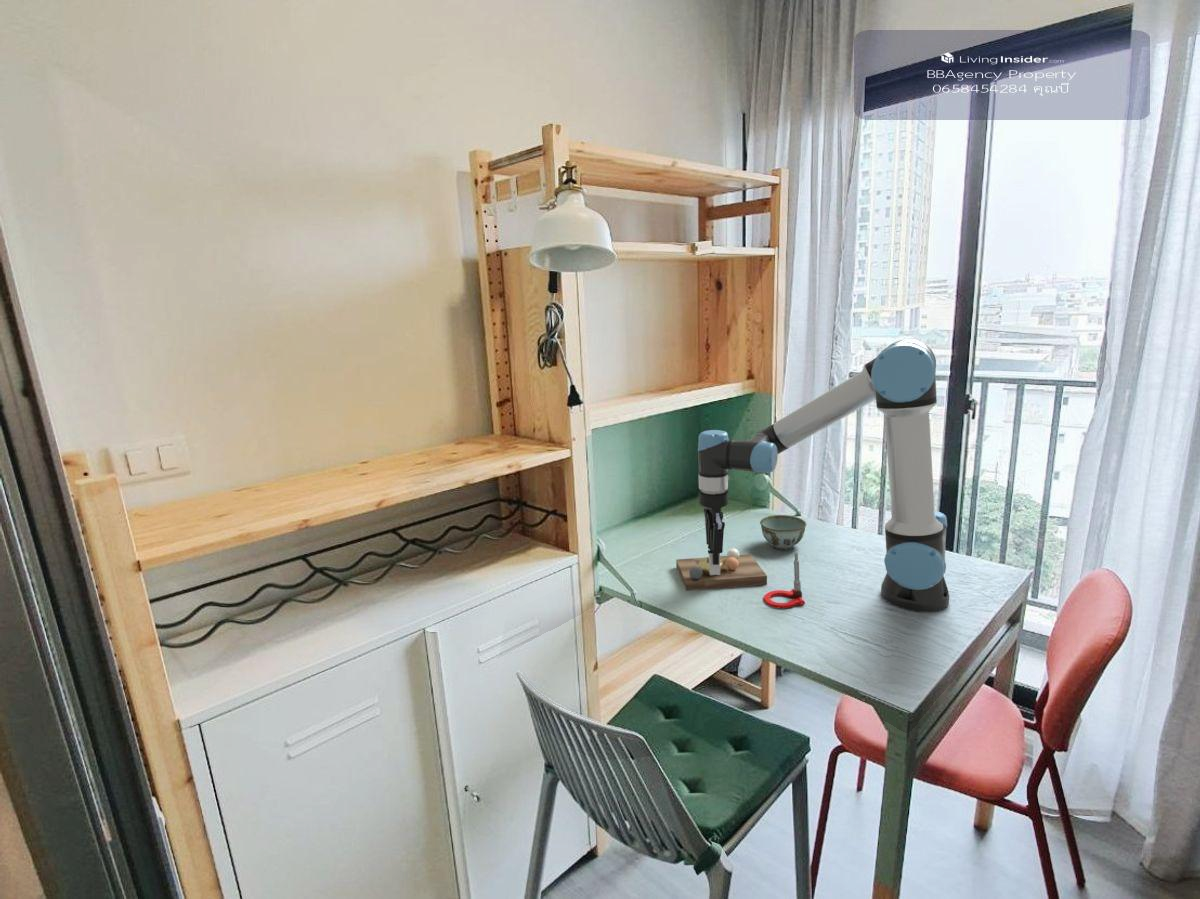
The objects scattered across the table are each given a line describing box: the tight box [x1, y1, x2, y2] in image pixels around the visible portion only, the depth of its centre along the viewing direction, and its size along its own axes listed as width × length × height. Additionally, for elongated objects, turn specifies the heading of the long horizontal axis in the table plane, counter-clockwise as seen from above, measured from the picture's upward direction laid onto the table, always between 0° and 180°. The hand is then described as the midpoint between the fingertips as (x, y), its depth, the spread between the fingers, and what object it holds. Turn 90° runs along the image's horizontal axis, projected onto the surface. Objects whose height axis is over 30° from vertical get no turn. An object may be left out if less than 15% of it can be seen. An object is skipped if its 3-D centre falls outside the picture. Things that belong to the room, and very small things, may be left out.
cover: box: [699, 556, 723, 575], centre depth 167 cm, size 6×6×4 cm
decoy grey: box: [689, 566, 702, 579], centre depth 163 cm, size 4×4×4 cm
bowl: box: [759, 514, 807, 551], centre depth 186 cm, size 14×13×8 cm
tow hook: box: [763, 552, 806, 609], centre depth 152 cm, size 8×13×9 cm
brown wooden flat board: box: [675, 553, 768, 591], centre depth 169 cm, size 15×22×2 cm
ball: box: [726, 557, 739, 570], centre depth 167 cm, size 4×4×4 cm
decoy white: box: [726, 547, 741, 560], centre depth 173 cm, size 4×4×4 cm
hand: (714, 573), depth 162 cm, fingers closed
